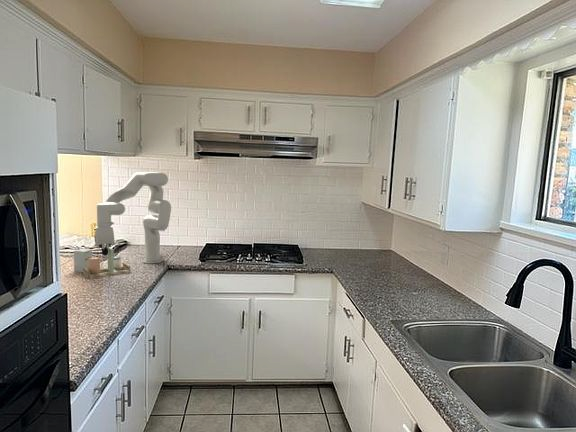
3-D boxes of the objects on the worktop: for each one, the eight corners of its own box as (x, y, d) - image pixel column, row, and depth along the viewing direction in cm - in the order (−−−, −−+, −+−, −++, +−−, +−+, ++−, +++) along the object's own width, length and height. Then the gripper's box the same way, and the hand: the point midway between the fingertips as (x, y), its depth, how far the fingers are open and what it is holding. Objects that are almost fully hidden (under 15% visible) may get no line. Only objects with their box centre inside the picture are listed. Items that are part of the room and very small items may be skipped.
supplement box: (84, 272, 244) (84, 251, 242) (73, 271, 245) (73, 250, 244) (92, 269, 251) (92, 249, 249) (82, 268, 252) (81, 248, 251)
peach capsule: (98, 273, 243) (98, 256, 242) (101, 275, 239) (101, 258, 237) (86, 274, 239) (86, 257, 238) (89, 277, 234) (89, 260, 233)
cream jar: (119, 266, 260) (119, 255, 259) (122, 268, 256) (121, 257, 255) (110, 267, 257) (109, 256, 256) (112, 269, 252) (112, 258, 252)
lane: (124, 268, 255) (124, 262, 255) (130, 272, 247) (130, 265, 247) (83, 274, 240) (82, 267, 239) (87, 278, 232) (87, 271, 231)
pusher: (113, 270, 250) (112, 246, 248) (117, 273, 244) (117, 249, 242) (107, 270, 247) (107, 247, 246) (111, 273, 242) (111, 249, 240)
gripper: (115, 222, 247) (116, 252, 249) (88, 224, 237) (89, 255, 240) (119, 224, 241) (120, 254, 243) (92, 226, 232) (93, 258, 234)
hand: (105, 255), depth 242 cm, fingers closed
